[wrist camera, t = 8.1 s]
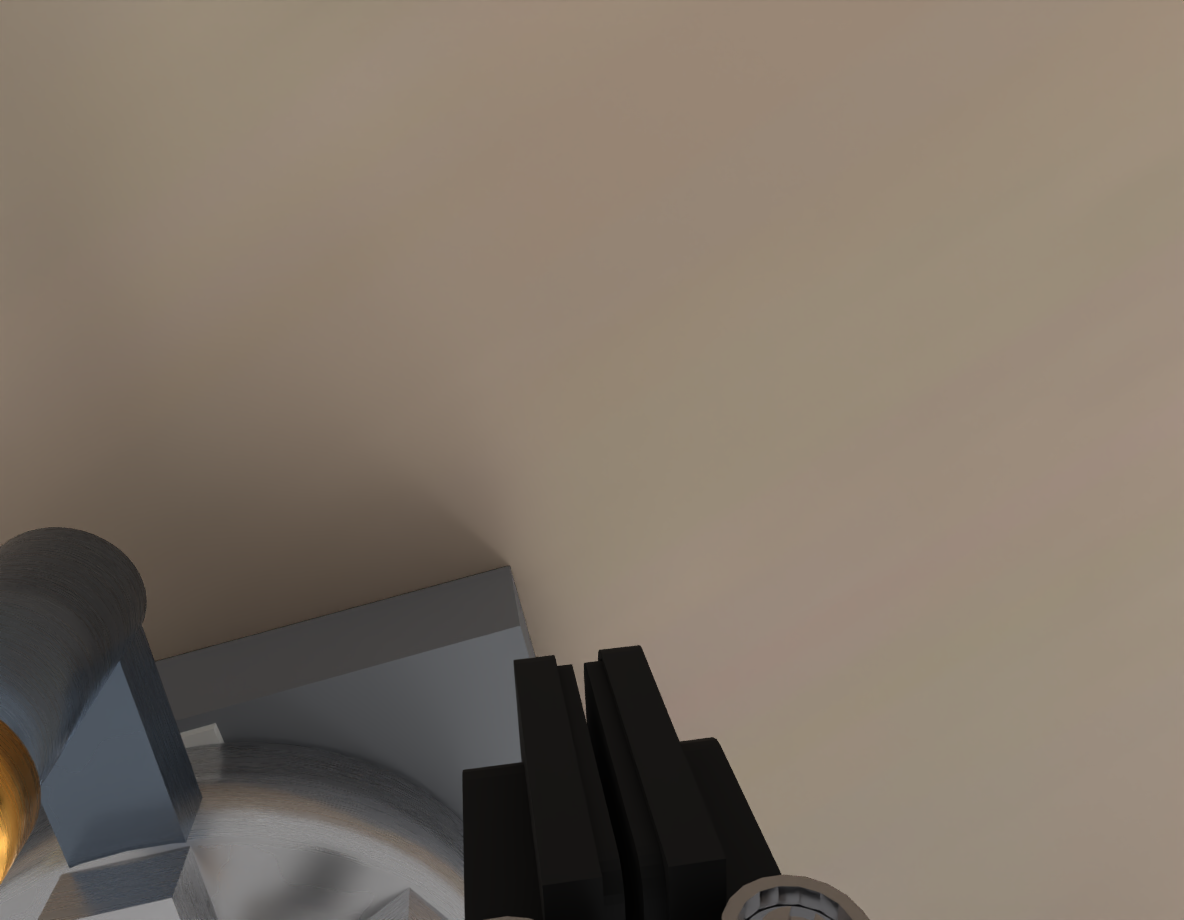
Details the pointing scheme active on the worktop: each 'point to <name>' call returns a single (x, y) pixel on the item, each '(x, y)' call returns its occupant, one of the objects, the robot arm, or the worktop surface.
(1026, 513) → the worktop surface
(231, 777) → the gold-rimmed tube plate
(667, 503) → the worktop surface
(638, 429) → the worktop surface
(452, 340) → the worktop surface
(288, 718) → the grey rectangular base plate
